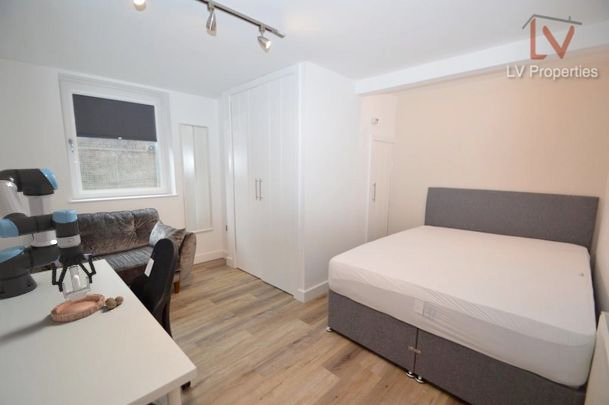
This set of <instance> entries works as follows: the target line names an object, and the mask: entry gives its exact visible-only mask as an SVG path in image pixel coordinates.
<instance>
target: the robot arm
mask: <svg viewBox="0 0 609 405" xmlns="http://www.w3.org/2000/svg"><path fill="white" fill-rule="evenodd" d="M58 189H59V184H58V181H57V177H56V175H55V173H54V172H53V171H52V170H51V169H49V168H38V167H37V168H35V167H34V168H8V169H3V170H0V238H1V239H7V238H18V237H21V236H28V235H33V241H31V242H30V246H28V247H26V246H25V245H17V246H15V245H14V246H12V247H11V246H10V247H8V248H4V249H1V250H0V300H2V299H9V298H14V297H18V296H21V295H24V294H27V293H29V292H31V291H33V290H35V289H37V287H38V284H37V281H36V280H35V279H34V277H33V276H32V274H31V273H30V270H31V269H35V268H41V267H43V266H49V265H51V284H52V286H57V287H58V291H59V292H60V293H63V298H64V300H66V299H67V300H68V297H67V296H66V291H67V290H66V284H65V282H64V280H65V277H66V274H67V271H68V270H69V267H71V266H73V265H77V266H78V267H80V269H81V270H82V271H84V273H85V274H86V276H85V282H86V285H87V288H88V293H89V292H91V291H92V289H91V284H93V276H95V275H97V271H96V268H95V265H94V262H93V254H91V253H90V252H89V253H88V254H87V253H86V254H84V252H83V248H82V244H81V242H82V241H81V236H80V229H79V223H78V216H77V212H76V210H75V209H62V210H61V209H60V210H55V211H53V203H52V202H53V201H52V196H53V195H55V191H56V190H58ZM18 193H22V196H24V197H26V198H27V201H28V207H29V215H30V216H28V214H27V212H26V209H25V207H24V205H23V204H22V201H21V200H20V197H19V195H18ZM84 258H85V259H86V260H87V262H88V265H89V268H90V270H91V272H90V271H89V270H88V269H87V267H86V266H85V265H84V264H83V262H82V261H83V259H84ZM59 263H60V264H61V265H63V266H62V269H61V272H60V275H59V278H58V280H57V266H59Z"/></svg>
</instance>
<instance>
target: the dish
mask: <svg viewBox="0 0 609 405" xmlns="http://www.w3.org/2000/svg"><path fill="white" fill-rule="evenodd" d="M105 301H106V297H105V295H103V294H100V293H92V294H87V295H86V297H85V298H83V299H80V300H76V301H73V302H72V301H71V300H70V299H67V300H66V301H63V302H62V303H59V304H57V305H56V306H55V307H53V308H52V310H50V316H51V317H50V318H51V319H52V320H53V321H54V322H58V323H65V322H72V321H76V320H79V319H83V318H86V317H88V316H91V315H92V314H95V313H96V312H98V311H100V310H101V309H103V307H104V306H106V305H105Z"/></svg>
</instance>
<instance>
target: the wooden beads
mask: <svg viewBox="0 0 609 405" xmlns="http://www.w3.org/2000/svg"><path fill="white" fill-rule="evenodd" d="M123 302H124V297H123V296H116V297H115V298H113V297H108V298H105V305H104V306H106V308H107V309H109V310H110V309H111V310H113V309H115V308H116V306H117V305H121V304H123Z"/></svg>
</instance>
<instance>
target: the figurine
mask: <svg viewBox="0 0 609 405" xmlns="http://www.w3.org/2000/svg"><path fill="white" fill-rule="evenodd" d="M68 271H69V274H70V280H71V286H72V288H70V289H67V290H66V296H67V299H68V300H71V301H72V302H73V301H76V300H80V299H83V298H85V297H86V295H88V293H89V291H88V288H87V284H85V285H82V286H81V283H80V276H79V274H80V273H79V265H73V266H71V267H68Z"/></svg>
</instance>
